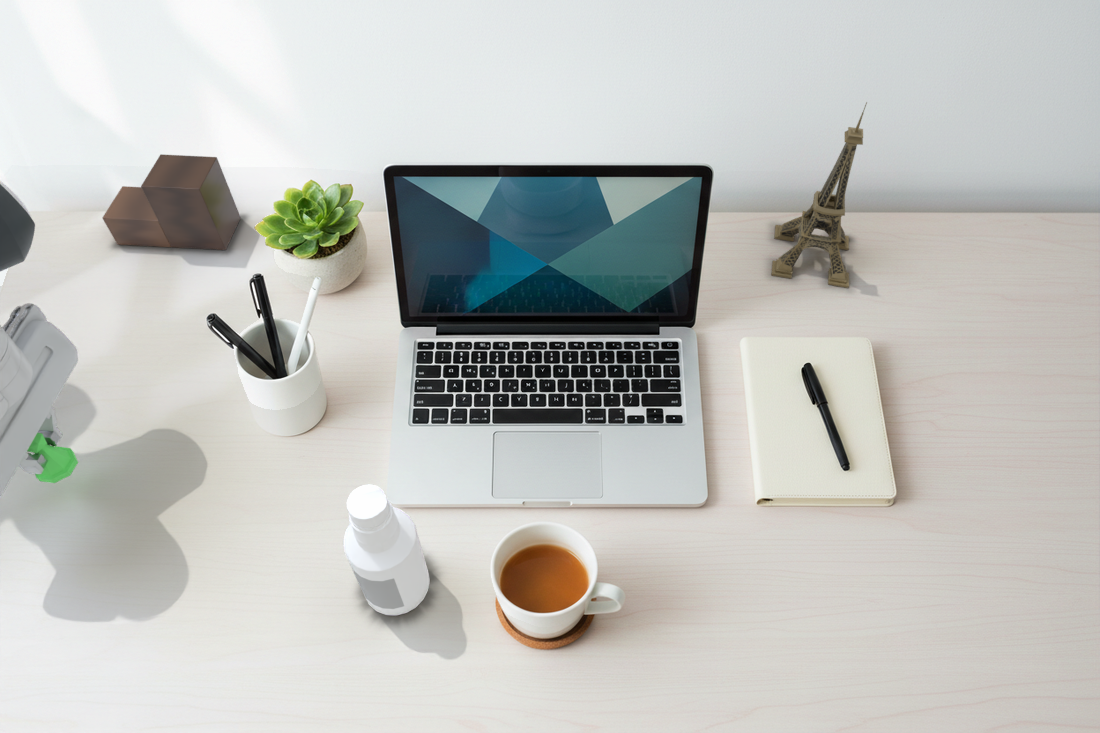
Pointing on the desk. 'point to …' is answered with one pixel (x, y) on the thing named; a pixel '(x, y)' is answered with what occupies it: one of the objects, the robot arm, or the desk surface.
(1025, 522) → the desk surface
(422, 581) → the white bottle
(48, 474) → the game piece
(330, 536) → the desk surface
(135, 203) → the stepped wooden block
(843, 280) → the eiffel tower
